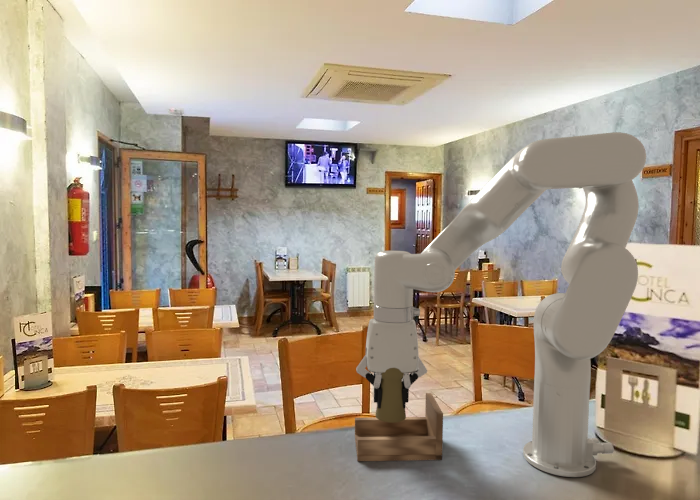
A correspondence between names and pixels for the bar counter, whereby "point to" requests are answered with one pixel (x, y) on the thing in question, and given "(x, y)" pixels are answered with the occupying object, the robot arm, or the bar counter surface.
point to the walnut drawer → (401, 436)
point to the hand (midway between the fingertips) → (390, 404)
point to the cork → (391, 397)
